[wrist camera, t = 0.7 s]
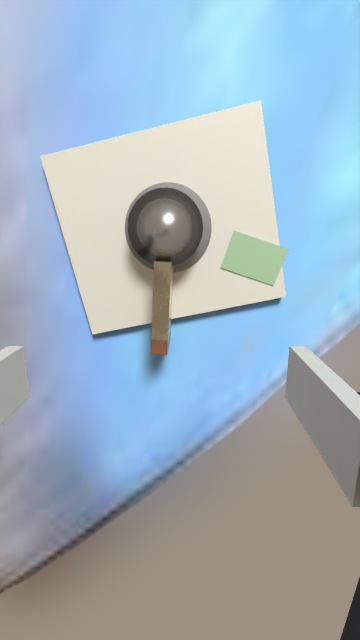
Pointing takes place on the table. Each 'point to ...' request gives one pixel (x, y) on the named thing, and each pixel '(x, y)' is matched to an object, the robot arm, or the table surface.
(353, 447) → the robot arm
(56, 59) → the table surface
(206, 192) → the board
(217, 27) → the table surface
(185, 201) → the peg dial
